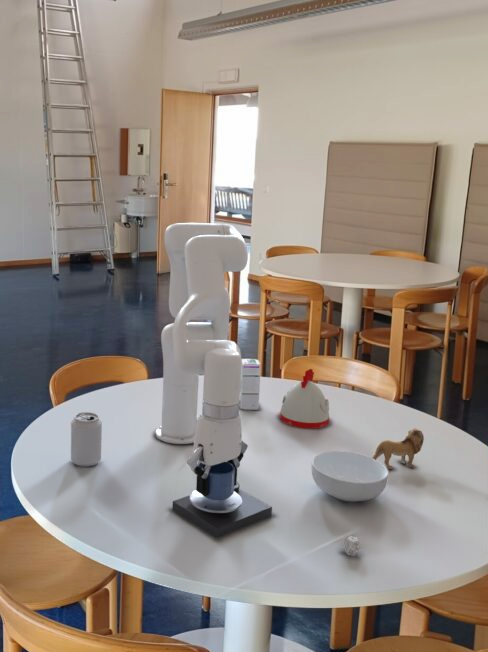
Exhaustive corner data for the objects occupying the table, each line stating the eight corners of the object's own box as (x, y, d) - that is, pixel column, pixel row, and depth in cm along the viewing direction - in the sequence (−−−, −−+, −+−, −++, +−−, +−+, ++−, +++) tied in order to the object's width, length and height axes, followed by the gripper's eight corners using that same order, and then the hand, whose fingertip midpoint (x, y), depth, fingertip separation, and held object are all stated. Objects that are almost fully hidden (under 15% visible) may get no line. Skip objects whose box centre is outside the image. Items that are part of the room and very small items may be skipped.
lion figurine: (411, 457, 184) (415, 425, 183) (426, 466, 180) (430, 432, 178) (364, 464, 179) (368, 430, 178) (378, 473, 174) (381, 438, 173)
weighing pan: (216, 484, 159) (216, 482, 158) (252, 503, 150) (252, 501, 150) (179, 497, 152) (179, 495, 152) (214, 518, 143) (214, 516, 143)
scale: (225, 489, 164) (226, 475, 163) (272, 515, 153) (273, 500, 152) (171, 509, 154) (171, 494, 153) (216, 538, 143) (217, 522, 142)
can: (96, 469, 172) (97, 422, 170) (66, 466, 173) (67, 419, 171) (104, 457, 179) (105, 412, 177) (75, 453, 181) (76, 409, 178)
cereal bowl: (344, 518, 152) (347, 487, 151) (294, 485, 167) (296, 457, 165) (402, 502, 160) (405, 473, 158) (349, 473, 174) (351, 446, 173)
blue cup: (216, 482, 156) (218, 457, 154) (240, 495, 150) (242, 468, 149) (192, 491, 151) (193, 465, 150) (215, 504, 146) (216, 477, 144)
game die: (341, 555, 138) (342, 541, 137) (343, 546, 141) (344, 532, 141) (359, 559, 137) (361, 545, 136) (361, 550, 140) (362, 536, 139)
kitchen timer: (334, 417, 211) (339, 369, 208) (319, 432, 200) (323, 380, 197) (290, 408, 219) (293, 361, 215) (272, 421, 207) (276, 371, 204)
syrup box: (258, 410, 216) (262, 364, 213) (239, 409, 216) (242, 363, 213) (256, 403, 222) (259, 358, 219) (237, 403, 222) (239, 358, 219)
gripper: (237, 396, 155) (233, 472, 159) (176, 411, 144) (173, 492, 148) (263, 406, 149) (258, 484, 153) (201, 423, 139) (197, 506, 142)
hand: (216, 487), depth 150 cm, fingers closed on blue cup, 7 cm apart
